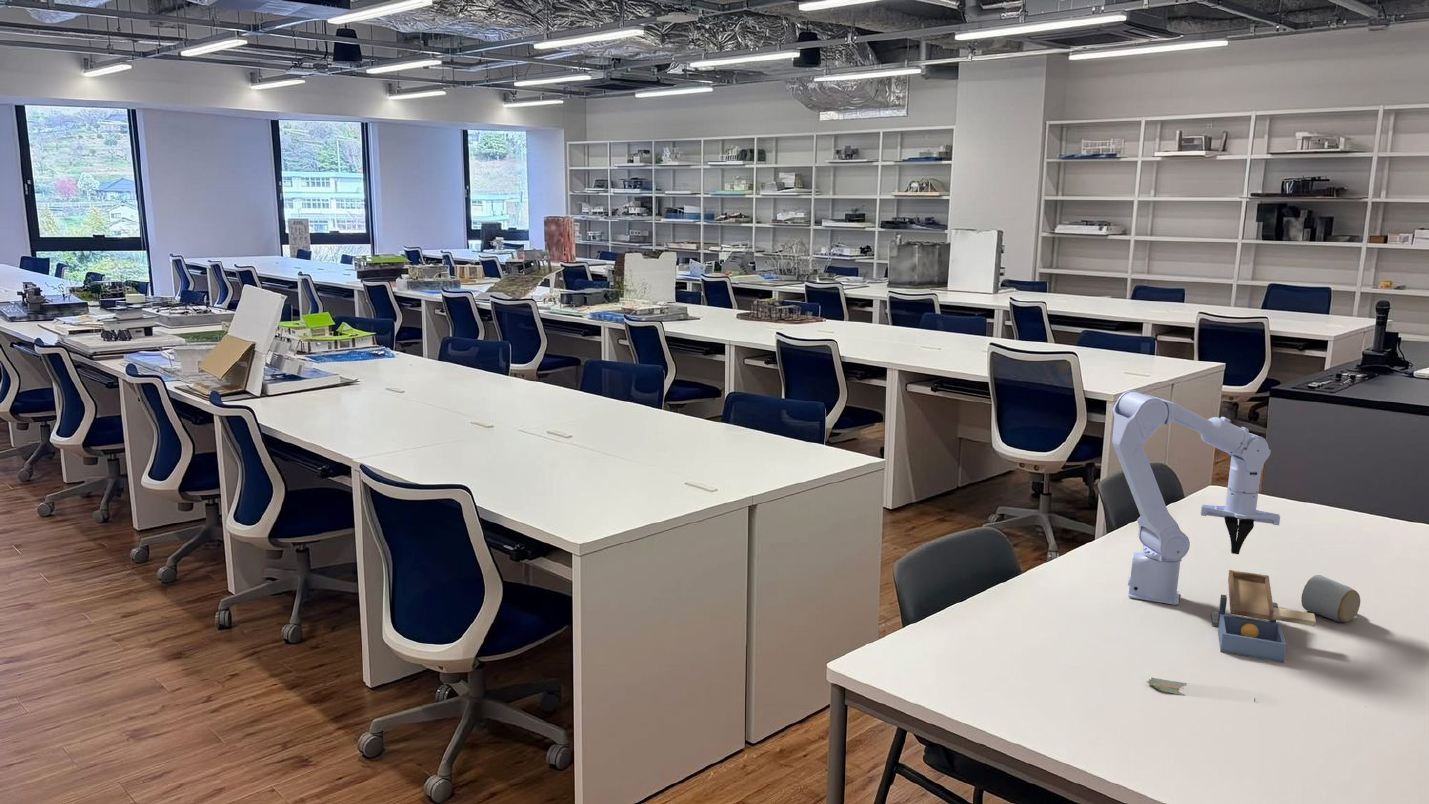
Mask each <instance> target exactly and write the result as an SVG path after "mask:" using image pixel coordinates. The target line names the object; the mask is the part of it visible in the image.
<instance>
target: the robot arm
mask: <svg viewBox="0 0 1429 804" xmlns="http://www.w3.org/2000/svg"><path fill="white" fill-rule="evenodd" d="M1111 410H1112V414H1113V417H1114V420H1113V429H1112V430H1113V431H1112V438H1111V442H1112V446H1113V449H1114V452H1115V454H1116V457H1117V459H1118V461H1119V465H1120V466H1121V470H1122V472H1123V475H1124V477H1125V480H1126V483H1127V485H1128V487H1129V490H1130V492H1131V496H1132V497H1133V501H1134V503H1135V505H1136V508H1137V510H1138V513H1139V515H1140V516H1139V517H1138V518H1137V519H1136V521H1137V524H1138V539H1139V541H1140V543H1141V544H1142V550H1143V551H1141V552H1140V551H1133V552H1132V561H1131V568H1130V576H1129V577H1128V579H1127V580H1128V581H1127V582H1128V583H1127V586H1129V588H1128V589H1129V590H1128V598H1132V599H1136V600H1137V599H1138V600H1142V601H1149V602H1154V603H1155V602H1156V603H1163V604H1167V605H1168V604H1169V605H1175V606H1178V605H1179V603H1180V602H1179V591H1178V587H1179V586H1178V584H1179V578H1180V577H1179V576H1180V567H1181V562H1182V559H1183V558H1184V557H1186V556H1187V554H1188V552H1189V549H1190V546H1191V545H1190V543H1191V542H1190V539H1189V537H1188V535H1187V534H1186V533H1184V532H1183V531H1182V530H1181V528H1180V525H1179V523H1177V521H1176V519H1174V517H1173V516H1172V515H1171V513H1169V510H1168V507H1167V505H1166V503H1165V499H1164V497H1163V495H1162V492H1161V489H1160V488H1159V484H1158V481H1157V480H1156V477H1155V475H1154V470H1153V469H1152V466H1151V464H1150V461H1149V457H1148V456H1147V453H1146V451H1145V448H1144V445H1145V443H1146V442H1147V441H1148V440H1149V439H1150V438H1151V437H1152V436H1153V435H1154V434H1155V433H1156V432H1157V431H1158V430H1159V429H1160V428H1161V427H1162V426H1163V425H1167V426H1168V425H1170V424H1172V423H1176V424H1178V425H1180V426H1183V427H1185V428H1187V429H1190V430H1192V431H1194V432H1195V433H1196V432H1197V433H1199V436H1200V439H1201V441H1202V442H1203V443H1204V444H1207V445H1209V446H1212V447H1213V448H1216V449H1217V450H1220V451H1222V452H1224V453H1226V454H1228V455H1229V456H1231V457H1230V463H1229V464H1230V466H1229V474H1228V481H1227V482H1228V483H1227V489H1226V497H1225V505H1212V504H1211V505H1209V504H1201V508H1200V516H1202V517H1207V516H1209V517H1214V518H1215V517H1217V518H1224V523H1225V526H1226V529H1227V532H1228V534H1229V538H1230V553H1231V554H1232V555H1240V552H1241V550H1242V549H1241V548H1242V546H1243V544H1244V542H1245V540H1246V539H1247V537H1248V535H1249V534H1250V533H1251V531H1252V530H1253V529H1254V526H1255V523H1265V524H1272V525H1273V526H1280V523H1281V515H1280V513H1274V512H1267V511H1264V510H1257V507H1258V499H1259V498H1258V497H1259V491H1260V484H1261V483H1260V482H1261V474H1262V471H1263V470H1264V464H1265V462H1266V461H1267V460H1268V459H1269V457H1270V455H1271V453H1272V451H1271V449H1270V448H1269V444H1268V442H1267V439H1266V438H1264V437H1263V436H1259V435H1257V434H1254V433H1250V431H1249V428H1247V427H1245V426H1241V427H1239V426H1237V425H1235V424H1233V423H1231V419H1230V418H1227V417H1225V416H1221V417H1217V416H1215V417H1214V416H1213V417H1210V418H1205V417H1204V416H1202V415H1200V414H1198V413H1196V412H1194V411H1191V410H1189V409H1188V408H1185V407H1183V406H1182V405H1179V404H1178V403H1175V402H1172V401H1169V400H1166V399H1164V398H1160V397H1156V396H1153V395H1149V394H1144V393H1141V392H1140V391H1138V390H1134V389H1133V390H1127V391H1124V392H1123V393H1122V394H1120V396H1119V397H1118V398H1117V400H1116V402H1115V404H1114V405H1113V407H1112V408H1111ZM1254 522H1255V523H1254Z"/></svg>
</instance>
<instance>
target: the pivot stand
mask: <svg viewBox="0 0 1429 804" xmlns="http://www.w3.org/2000/svg"><path fill="white" fill-rule="evenodd" d="M1227 603H1228V596H1227V594H1223V593H1221V594H1220V598H1219V606H1218V611H1211V612H1210V614H1211V615H1210V618H1211V626H1212V627H1217V628H1218V627H1219V619H1220V614H1222V615H1228V616H1234V617H1241V618H1247V619H1253V620H1259V621H1265V622H1271V623H1278V624H1281V623H1280V622H1281V621H1277V620H1272V621H1271V620H1264V619H1258V618H1252V617H1246V616H1240V615H1233V614H1230V613H1226V610H1227ZM1273 607H1275V608H1279V604H1278V603H1277V602H1273Z"/></svg>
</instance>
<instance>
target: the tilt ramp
mask: <svg viewBox="0 0 1429 804" xmlns="http://www.w3.org/2000/svg"><path fill="white" fill-rule="evenodd" d="M1227 577H1228V578H1227V584H1228V598H1229V610H1230V611H1229V614H1231V615H1238V616H1244V617H1250V618H1256V619H1262V620H1271V621H1272V620H1276V621H1278V622H1286V623H1292V624H1299V625H1304V626H1309V627H1310V626H1311V627H1316V617H1315V613H1313V612H1308V611H1307V612H1306V611H1300V610H1295V609H1288V608H1281V607H1278V608H1275V607H1273V595H1272V590H1271V589H1272V587H1271V582H1270V576H1269V575H1267V574H1261V573H1259V574H1258V573H1253V572H1247V571H1246V572H1245V571H1239V570H1232V569H1229V570H1228V575H1227Z"/></svg>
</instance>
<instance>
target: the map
mask: <svg viewBox="0 0 1429 804" xmlns="http://www.w3.org/2000/svg"><path fill="white" fill-rule="evenodd" d="M1146 683H1148V685H1151V686H1152V687H1153V688H1155V689H1157V690H1159V691H1162V692H1166V693H1170V694H1175V695H1181V696H1185V695H1186V694H1184V693H1182V692H1180V691H1179V690H1180V689H1182V688H1183V687H1187V684H1189V683H1187V682H1181V681H1175V680H1168V679H1163V678H1162V679H1161V678H1156V677H1150V678H1149V679H1148V681H1146ZM1253 702H1254V703H1255V702H1256V698H1255V697H1254V700H1253Z"/></svg>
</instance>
